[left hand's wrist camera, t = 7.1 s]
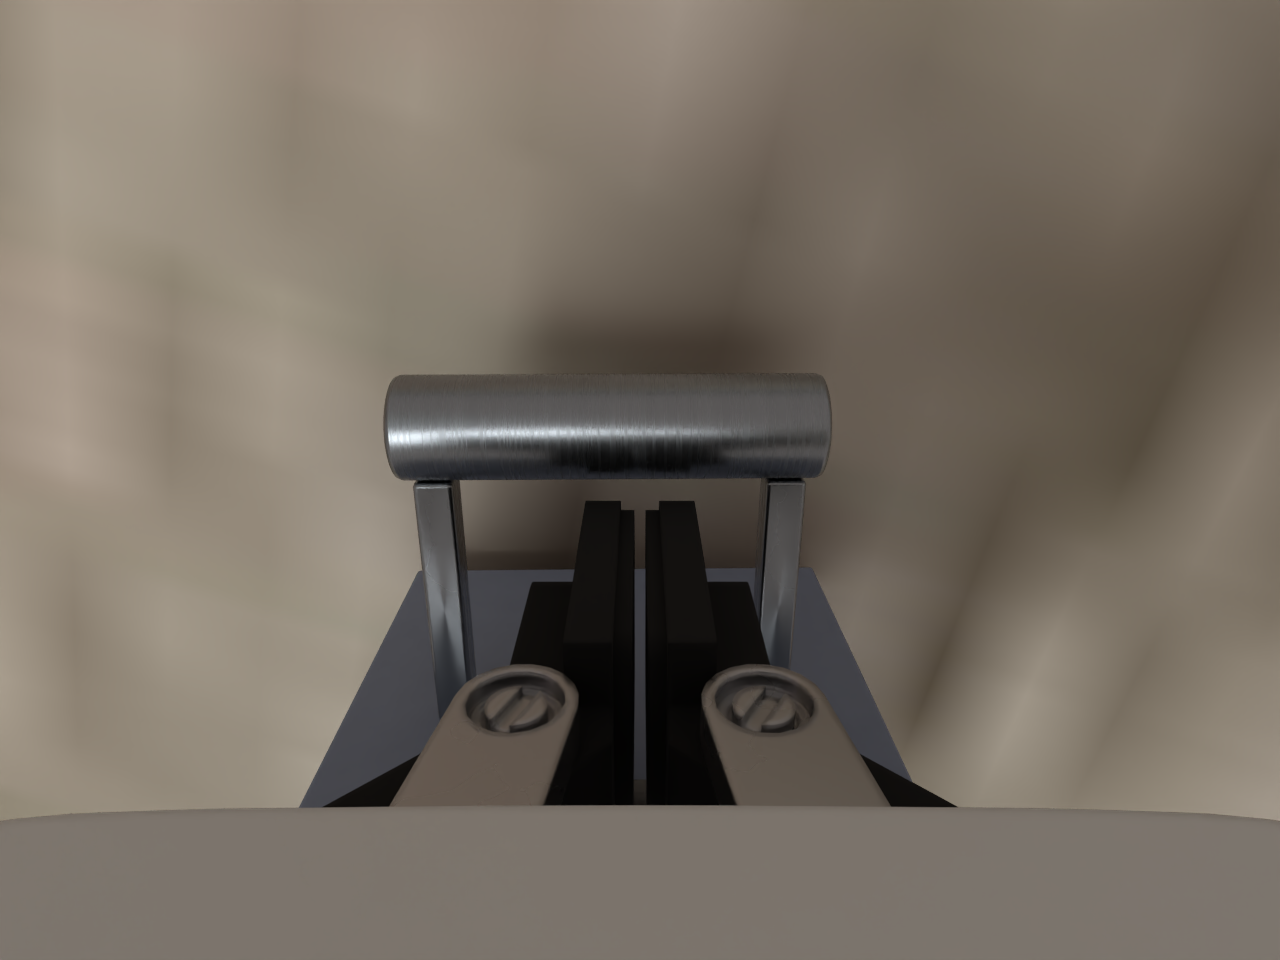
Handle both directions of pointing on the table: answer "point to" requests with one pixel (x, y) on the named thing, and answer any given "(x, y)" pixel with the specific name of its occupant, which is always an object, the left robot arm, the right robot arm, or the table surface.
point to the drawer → (495, 599)
